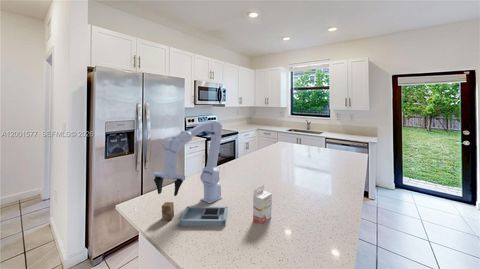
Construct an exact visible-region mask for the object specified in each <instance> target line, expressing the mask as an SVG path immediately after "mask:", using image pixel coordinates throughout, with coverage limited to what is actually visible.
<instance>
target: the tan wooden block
mask: <svg viewBox="0 0 480 269" xmlns="http://www.w3.org/2000/svg"><path fill="white" fill-rule="evenodd" d="M174 207H175V206H174V202H173V201H164V203H163V204H162V205H161V218H162V220H161V221H164V222H165V221H167V222H168V221H169V222H170V221H171V222H172V221H173V219H174V217H175V210H174V209H175V208H174Z"/></svg>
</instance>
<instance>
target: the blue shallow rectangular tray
mask: <svg viewBox="0 0 480 269" xmlns="http://www.w3.org/2000/svg"><path fill="white" fill-rule="evenodd" d="M228 209H229V208H228V206H186V207H185V209H184V211H183V212H182V214H181V216H180V218H179V220H178V226H179V227H226V224H227V218H228V217H227V216H228V211H229V210H228Z"/></svg>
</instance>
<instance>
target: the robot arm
mask: <svg viewBox="0 0 480 269" xmlns="http://www.w3.org/2000/svg"><path fill="white" fill-rule="evenodd" d="M222 129H223V125H222V124H221V122H220V121H219V120H206V119H205V120H203V121H201V122H200V123H198V124H197V125H196V126H194V127H193V128H191V129H190V130H181V131H180V133H178V134H176V135H173V136H172V138H167V139H165V141H164V142H163V144H162V148H163V150H164V157H163V170H162V172H153V174H152V178H154V179H153V182H154V183H155V185H156V189H157V190H156V191H157V194H158V195H161V194H162V190H163V183H164V179H168V180H174V192H173V196H174V197H176V196H178V193H179V190H180V188H181V186H182V184H183V183H184V181H186V175H183V174H177V169H178V156H179V151H181V149H182V147H183V146H185V145H187V144H188V143H190V142H191V141H192V139H193V138H194V137H196V136H197V135H199V134H201V133H203V132H205V133H206V134H207V135H208V136H209V137H210V144H209V149H208V157H207V160H206V161H207V162H206V166H205V167H204V168H202V172H201V174H200V176H199V177H200V178H199V179H200V181H201V182H202V185H203V197H201V198H200V200H201V201H203V202H204V203H208V204H212V203H214V202H217V201H219V200H221V199H222V198H223V196H222V185H221V183H220V178H221V177H220V171H219V169H218V168H217V166H218V165H217V164H218V159H219V154H220V148H221V147H220V146H221V141H222Z"/></svg>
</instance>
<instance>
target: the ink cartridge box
mask: <svg viewBox="0 0 480 269" xmlns="http://www.w3.org/2000/svg"><path fill="white" fill-rule="evenodd" d="M264 188H265V184H263V185H261V186H259V187H257V188H254V189H253V202H252V203H253V204H252V209H253V210H252V221H253V222H255V223H257V224H261V225H263V224H264V223H266V221H268V220H269V219H270V218H272V208H273V207H272V201H273V200H272V199H273V193H272V192H269V191H266V190H265V189H264Z"/></svg>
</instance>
